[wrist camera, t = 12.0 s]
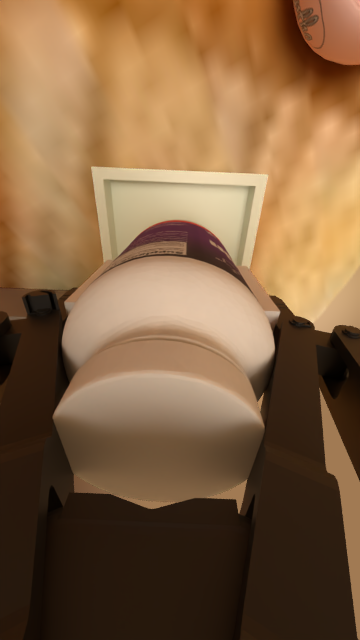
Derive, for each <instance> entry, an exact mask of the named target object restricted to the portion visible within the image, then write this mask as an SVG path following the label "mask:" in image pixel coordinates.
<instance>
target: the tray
mask: <svg viewBox="0 0 360 640" xmlns="http://www.w3.org/2000/svg"><path fill="white" fill-rule="evenodd" d="M91 169H92V176H93V184H94V191H95V199H96V207H97V214H98V222H99V229H100V237H101V245H102V252H103V260H104V263H105V262H106V261H107V260H115V259H116V258H117V257H118V256H119V255H120V254H121V253H122V252H123V251H124V250H125V249H126V248H127V247H128V246H129V244H130V243H131V242H132V241H133V240H134V239H135V238H136V237H137V236H138V235H139V234H140V233H141V232H143V231H144V230H145V229H147V228H149V227H150V226H152V225H154V224H156V223H159V222H162V221H167V220H187V221H191V222H194V223H197V224H199V225H201V226H203V227H205V228H207V229H208V230H210V231H211V232H212V233H213V234H214V235H215V236H216V237H217V238H218V239H219V240H220V241H221V243H222V244H223V245H224V247H225V249H226V250H227V252H228V254H229V255H230V257H231V259H232V260H233V262H234V263H235V265H236V266H247V267H248V268H249V270H250V265H251V260H252V254H253V249H254V244H255V239H256V234H257V229H258V224H259V219H260V214H261V209H262V204H263V199H264V194H265V188H266V183H267V178H268V174H247V173H224V172H202V171H179V170H157V169H134V168H112V167H91Z"/></svg>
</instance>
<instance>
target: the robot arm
mask: <svg viewBox="0 0 360 640" xmlns="http://www.w3.org/2000/svg"><path fill="white" fill-rule="evenodd" d="M113 261H114V260H107V261H106V262H105V263H104V264H103V265H102V266H101V267H100V268H99V269H97V270H96V271H95V272H94V273H93V274H92V275H91V276H90V277H89V278H88V279H87V280H86V281H85V282H84V283H83V284H82V285H81V286H80V287H79V288H73V289H71V290H69V291H67V292H66V293H65V294H63V296H61V297H60V298H59V299H58V300H57V296H56V293H55V291H52V290H36V291H32V292H29V293H27V294H25V295H23V296H22V300H23V303H24V306H25V309H26V312H27V317H26V319H17V320H10V319H9V316H8V314H7V313H6V312H4V311H0V403H1V404H0V640H358V638H357V632H356V624H355V616H354V607H353V599H352V592H351V582H350V574H349V566H348V557H347V549H346V540H345V532H344V524H343V515H342V507H341V499H340V491H339V486H338V482H337V480H336V478H335V476H334V475H332V474H330V473H328V472H327V471H326V466H325V454H324V441H323V428H322V416H321V404H320V390H321V392H322V394H323V397H324V399H325V401H326V404H327V406H328V408H329V410H330V413H331V415H332V418H333V420H334V422H335V424H336V427H337V429H338V432H339V434H340V436H341V439H342V441H343V443H344V446H345V448H346V450H347V453H348V455H349V457H350V459H351V462H352V464H353V466H354V469H355V471H356V473H357V476H358V478H359V480H360V330H359V329H358V328H354V327H353V326H346V325H339V326H335V328H334V329H333V332H332V333H327V332H322V331H317V330H315V327H314V325H313V323H312V322H310V321H309V320H307V319H305V318H302V317H298V316H295V315H294V314H293V313H292V312H291V311H290V309H288V307H287V306H286V305H285V303H284V302H283V301H282V300H281V299H279V298H278V297H276V296H269V295H268V294H267V293H266V291H265V290H264V289H263V287H262V286H261V285H260V283H259V282H258V281H257V279H256V278H255V276H254V275H253V274H252V272H251V271H250V270H249V268H248V267H247V266H237V268H238V270H239V272H240V273H241V275H242V277H243V278H244V280H245V281H246V283H247V284H248V286H249V288H250V289H251V291H252V292H253V294H254V295H255V297H256V299H257V300H258V302H259V304H260V305H261V307H262V309H263V310H264V312H265V314H266V316H267V318H268V320H269V323H270V326H271V329H272V333H273V337H274V344H275V361H274V366H273V369H272V373H271V376H270V380H269V383H268V385H267V388H266V390H265V392H264V396H263V401H262V406H261V411H260V413H261V416H262V420H263V423H264V426H265V433H264V436H263V439H262V441H261V444H260V447H259V450H258V452H257V455H256V458H255V461H254V463H253V466H252V469H251V472H250V474H249V477H248V479H247V484H246V489H245V494H244V498H243V503H242V507H241V510H240V514H238V509H237V503H236V500H233V499H211V498H193V499H189V500H185V501H182V502H178V503H175V504H171V505H167V506H163V507H160V508H156V509H148V508H145V507H142V506H140V505H137V504H134V503H132V502H129V501H127V500H124V499H121V498H119V497H116V496H114V495H111V494H93V493H74V474H73V472H72V469H71V466H70V464H69V461H68V458H67V455H66V453H65V450H64V447H63V445H62V442H61V439H60V437H59V434H58V431H57V429H56V426H55V423H54V420H53V414H54V412H55V410H56V408H57V406H58V404H59V403H60V401H61V399H62V397H63V395H64V393H65V392H66V390H67V388H68V386H69V384H70V382H69V380H68V378H67V375H66V371H65V368H64V363H63V358H62V336H63V330H64V326H65V323H66V320H67V318H68V315H69V313H70V311H71V309H72V307H73V306H74V304H75V302H76V301H77V300H78V298H79V297H80V295H81V294H82V293H83V292H84V291H85V290H86V289H87V287H88V286H89V285H90V284H91V283H92V282H93V281H94V280H95V279H96V278H97V277H98V276H99V275H100V274H101V273H102V272H103V271H104V270H105V269H106V268H107V267H108V266H109V265H110V264H111V263H112V262H113ZM319 387H320V390H319Z"/></svg>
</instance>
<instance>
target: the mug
mask: <svg viewBox="0 0 360 640" xmlns="http://www.w3.org/2000/svg"><path fill="white" fill-rule="evenodd" d="M293 4H294V10H295V14H296V19H297V23H298V26H299V28H300V31H301V33H302V35H303V37H304V40H305V41H306V42H307V44H308V45H309V46H310V47H311V49H312V50H313V51H314V52H315V53H317V54H318V55H320V56H321V57H323V58H324V59H326V60H329V61H333V62H336V63H339V64H343V65H360V0H293Z"/></svg>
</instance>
